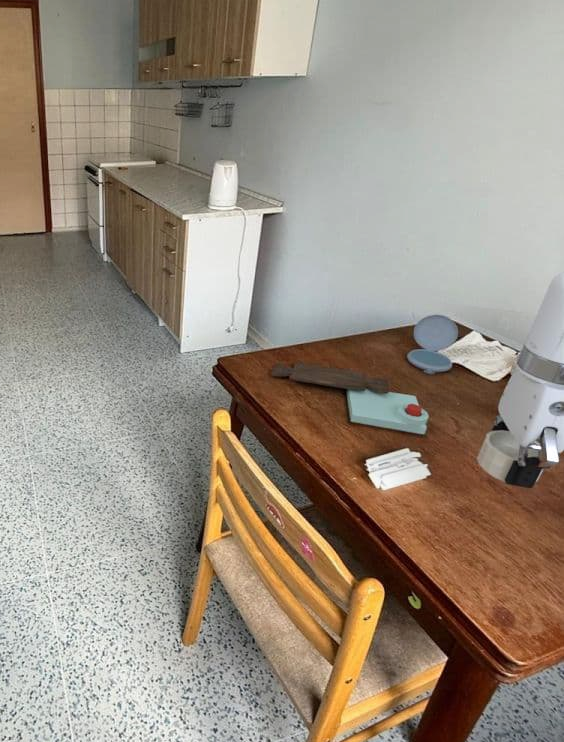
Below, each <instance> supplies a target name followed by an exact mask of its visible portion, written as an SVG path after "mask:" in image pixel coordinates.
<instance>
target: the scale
mask: <svg viewBox="0 0 564 742" xmlns="http://www.w3.org/2000/svg"><path fill="white" fill-rule="evenodd" d="M346 398H347V406H348V412H349V419H350V422H352V423H358V424H362V425H369V426H374V427H379V428H386V429H390V430H397V431H402V432H408V433H413V434H419V435H426V431H427V423H428V420H429V416H430V415H429V413H428V412H427V411H426V410H425V409H423V408H422V411H421V414H420V416H419V417H415V416H411V415H409V414H407V413H406V409H407V406H408V405H409V404H415V405H418V406H420V404H419V401H418V399H417V396H416V395H413V394H412V395H410V394H404V393H400V392H399V393H398V392H393V391H388V393H386V394H382V393H377V392H374V391H372V390H370V389H368V388H366V387H365V391H357V390H350V389H346Z"/></svg>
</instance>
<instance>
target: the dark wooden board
mask: <svg viewBox="0 0 564 742" xmlns="http://www.w3.org/2000/svg"><path fill="white" fill-rule="evenodd" d="M270 377H277V378H279V377H281V378H282V377H288V379H289V380H291V381H295V382H296V381H297V382H302V383H308V384H313V385H314V384H315V385H321V386H326V387H328V386H329V387H333V388H337V389H338V388H339V389H345V390H347V389H350V390H357V391H365V388H367V389H370V390H372V391H374V392H377V393H382V394H386V393H388V392H389V390H390V389H389V388H390V387H389V386H390V384H389V380H388V379H385V378H379V377H372V378H370V377H369V378H368V377H367V378H366V372H365V371H358V370H351V369H343V368H336V367H330V366H325V365H324V366H323V365H316V364H311V363H304V362H294V365H293V367H292V366H289V365H286V364H282V363H278V364H277V365H276V366H275V367H274V368H273V369H272V370H271V371H270Z"/></svg>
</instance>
